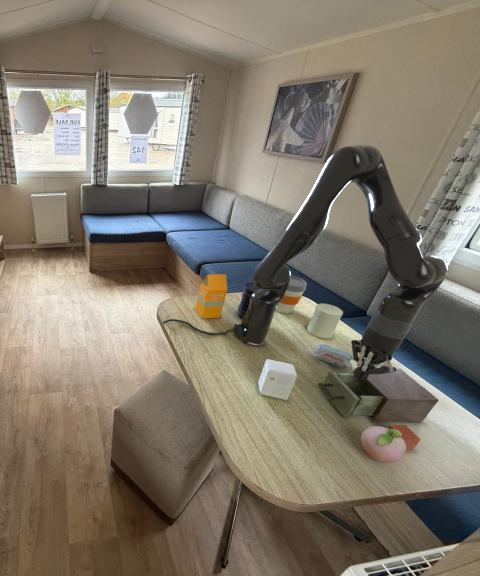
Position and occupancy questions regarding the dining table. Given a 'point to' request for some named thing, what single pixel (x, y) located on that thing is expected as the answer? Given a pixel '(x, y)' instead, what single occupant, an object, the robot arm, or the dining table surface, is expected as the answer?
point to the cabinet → (400, 398)
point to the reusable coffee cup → (292, 295)
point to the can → (324, 320)
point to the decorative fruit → (383, 444)
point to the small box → (277, 379)
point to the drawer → (351, 394)
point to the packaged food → (334, 356)
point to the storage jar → (246, 299)
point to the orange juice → (212, 296)
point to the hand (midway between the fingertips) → (358, 378)
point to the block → (406, 436)
